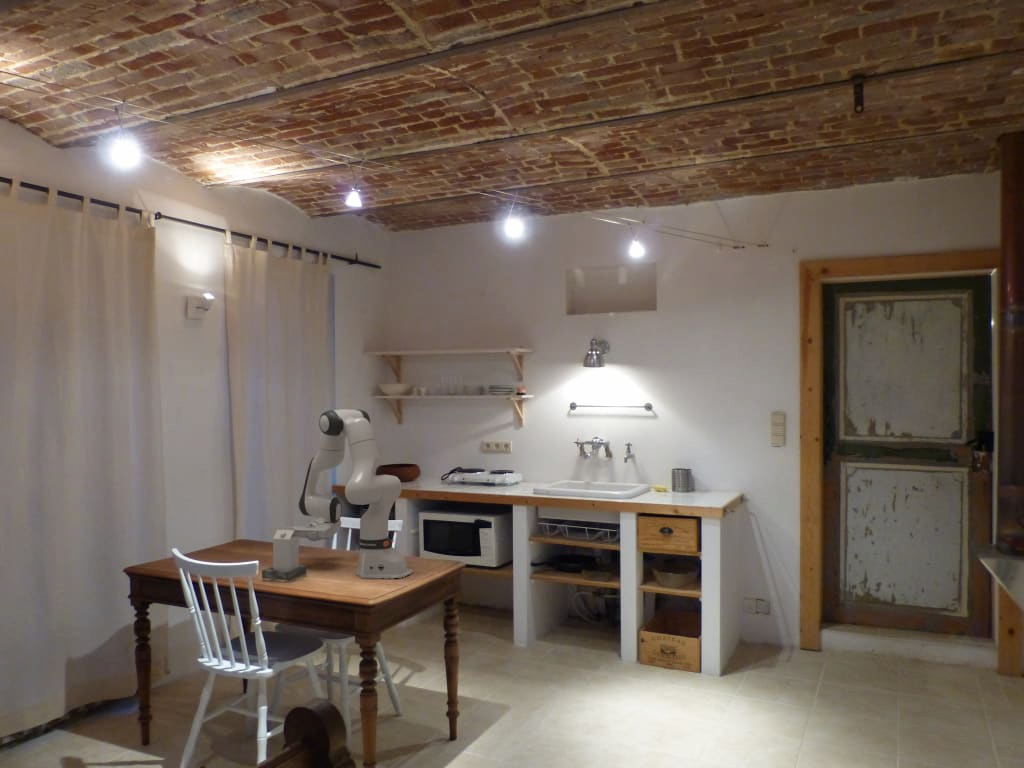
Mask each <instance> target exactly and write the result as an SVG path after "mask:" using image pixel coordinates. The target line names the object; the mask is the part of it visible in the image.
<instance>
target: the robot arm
mask: <svg viewBox="0 0 1024 768" xmlns="http://www.w3.org/2000/svg"><path fill="white" fill-rule="evenodd" d="M370 418H371V417H370V415H369V413H368V412H367V411H365V410H363V409H346V408H345V409H344V408H343V409H341V408H340V409H335V410H333V409H330V410H327V411H323V413H321V415H320V418H319V419H318V425H319V429H320V435H319V440H318V441H319V442H318V450H317V454H316V455H315V456H314V457H312V459H311V460H310V463H309V465H308V467H307V471H306V476H305V480H304V485H303V490H302V493H301V495H300V498H299V500H298V508H299V511H300V512H301V514H302V515H303V516H305V517H306V516H309V517H316V518H315V519H311V520H309V521H307V522H306V523H305V525H304V526H301V525H300V526H298V525H297V526H295V525H294V526H293V527H294V530H295V531H296V533H297V534H298V536H299V539H300V538H301V539H307V540H309V541H311V542H317V541H321V540H331V539H333V538H334V537H335V536H334V535H335V534H337V533H338V532H339V530H341V527H342V521H341V517H342V512H343V506H342V503H341V501H340V499H339V498H338V497H337V496H332V495H326V494H319V493H317V492H316V490H317V485H318V482H319V481H318V480H319V476H320V474H321V473H322V472H323V471H328V470H331V469H334V468H338V466H339V465H341V464H342V463H343V461H344V458H345V454H346V452H345V451H346V438H347V442H348V447H349V451H350V457H351V462H352V473H351V477H350V479H349V480H348V481H347V483H346V485H345V488H344V495H345V499H347V501H348V503H350V504H352V505H359V506H360V505H361V506H364V505H369V506H368V509H367V510H366V512H365V513H364V514H362V516H361V517H360V519H359V539H358V551H359V553H358V554H359V556H358V563H357V568H356V571H355V574H356V575H357V576H358V577H360V578H361V579H382V578H384V580H385V579H387V580H388V579H389V578H390V579H391V580H392V579H393V580H395V579H394V578H399V579H403V578H406V577H408V576H407V575H409V574H410V575H412V574H413V573H412V572H413V569H412V568H408V565H407V560H406V557H405V556H404V555H403V554H401V553H400V552H399V551H397V550H396V549H395V547H393V543H394V540H395V539H390V537H389V519H390V518H389V517H390V513H391V509H392V507H393V505H394V503H395V501H397V499H398V498H399V497H400V495H401V494H402V488H403V487H402V482H401V480H400V479H399V477H398V476H395V475H391V474H379V475H376V474H375V467H376V465H378V464H379V462H380V460H381V455H380V451H379V447H378V443H377V439H376V436H375V433H374V430H373V428H372V425H371V419H370ZM411 573H412V574H411ZM410 575H409V576H410ZM405 576H406V577H405ZM402 577H403V578H402Z"/></svg>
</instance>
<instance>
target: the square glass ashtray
mask: <svg viewBox="0 0 1024 768" xmlns="http://www.w3.org/2000/svg"><path fill="white" fill-rule="evenodd" d="M305 575H306V576H307V565H306V564H304V565H303V564H302V565H301V564H299V567H298V568H295V569H292V570H290V571H279V570H273V566H271V567H270V566H269V567H268V568H265V569H262V570H261V581H262V580H269V581H268V582H273V581H284V582H283V583H286V582H290V581H292V582H294V581H293V580H295V581H297V580H299V579H298V578H300V577H302V578H304V577H303V576H305ZM306 576H305V577H306ZM296 579H297V580H296ZM300 579H301V578H300ZM290 583H291V582H290Z"/></svg>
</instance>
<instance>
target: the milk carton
mask: <svg viewBox="0 0 1024 768" xmlns="http://www.w3.org/2000/svg"><path fill="white" fill-rule="evenodd" d="M272 539H273V541H272V546H273V547H272V549H273V550H272V551H273V552H272V567H273V570H279V571H290V570H292V569H295V568H298V567H299V565H300V563H299V562H300V560H299V558H300V557H299V554H300V549H299V546H300V543H299V542H300V538H299V536H298V534H297V533H296V531H295V530H294V526H277V529H276V532H275V533H274V536H273V538H272Z"/></svg>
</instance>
